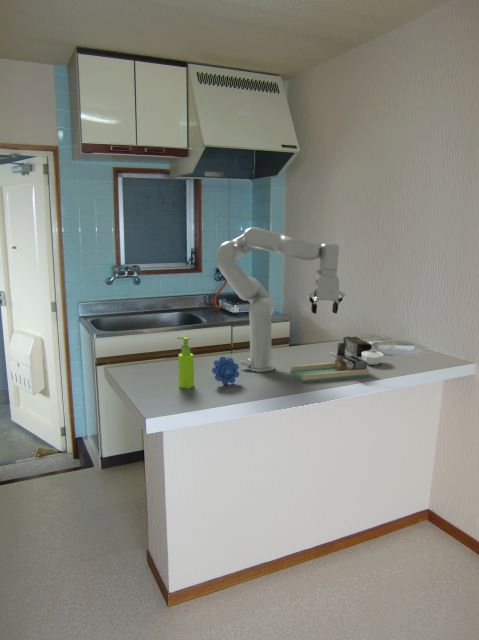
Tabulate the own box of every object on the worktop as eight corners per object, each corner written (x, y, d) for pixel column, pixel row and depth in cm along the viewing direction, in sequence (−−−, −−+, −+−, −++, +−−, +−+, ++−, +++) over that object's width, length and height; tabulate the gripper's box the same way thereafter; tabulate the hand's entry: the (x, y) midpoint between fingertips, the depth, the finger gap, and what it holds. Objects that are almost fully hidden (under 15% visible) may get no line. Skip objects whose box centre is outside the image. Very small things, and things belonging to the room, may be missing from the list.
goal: (355, 374, 217) (355, 360, 216) (342, 367, 227) (343, 354, 226) (366, 372, 218) (367, 359, 217) (353, 366, 229) (354, 353, 227)
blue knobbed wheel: (215, 389, 200) (215, 360, 198) (210, 384, 206) (209, 355, 204) (243, 386, 204) (243, 357, 202) (237, 381, 211) (237, 353, 208)
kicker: (348, 377, 211) (349, 349, 209) (327, 364, 229) (327, 338, 227) (355, 376, 212) (356, 348, 210) (333, 364, 230) (334, 338, 228)
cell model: (359, 366, 232) (360, 352, 231) (362, 359, 244) (362, 346, 242) (382, 368, 229) (383, 353, 228) (384, 361, 240) (384, 347, 239)
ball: (351, 373, 220) (345, 367, 219) (346, 371, 224) (341, 364, 222) (357, 367, 220) (352, 360, 219) (352, 364, 224) (347, 358, 223)
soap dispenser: (184, 382, 209) (183, 334, 205) (196, 385, 205) (196, 337, 201) (174, 385, 205) (173, 337, 201) (186, 389, 200) (185, 339, 196)
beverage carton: (356, 347, 269) (357, 335, 268) (372, 356, 250) (372, 343, 249) (342, 347, 268) (343, 335, 266) (356, 357, 249) (357, 344, 248)
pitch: (303, 382, 208) (303, 375, 208) (290, 373, 222) (290, 366, 221) (368, 376, 217) (368, 369, 216) (352, 367, 230) (352, 360, 230)
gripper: (312, 273, 208) (309, 314, 212) (350, 274, 213) (346, 314, 217) (305, 271, 215) (302, 311, 219) (342, 272, 220) (338, 311, 224)
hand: (324, 312), depth 218 cm, fingers open, 9 cm apart
